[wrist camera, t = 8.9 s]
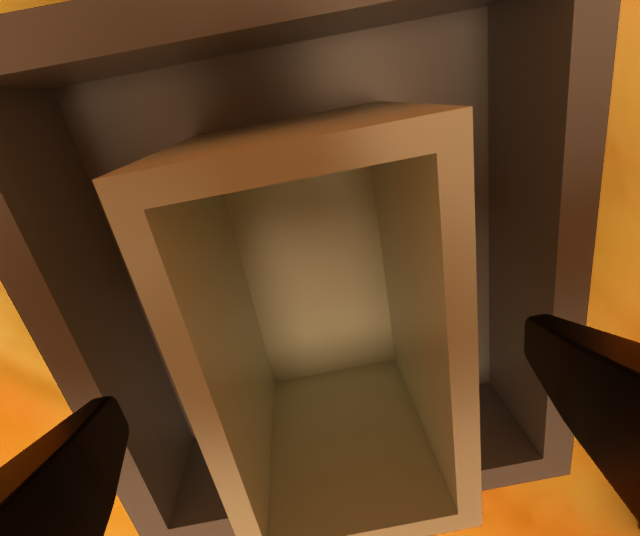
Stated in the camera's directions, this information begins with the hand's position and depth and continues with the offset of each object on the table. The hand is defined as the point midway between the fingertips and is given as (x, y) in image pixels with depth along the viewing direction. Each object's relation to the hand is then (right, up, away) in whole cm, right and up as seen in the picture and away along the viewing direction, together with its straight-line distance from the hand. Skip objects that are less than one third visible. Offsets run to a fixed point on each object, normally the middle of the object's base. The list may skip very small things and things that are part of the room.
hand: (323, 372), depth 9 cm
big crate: (0, +3, +7) cm, 7 cm away
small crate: (0, +2, +6) cm, 6 cm away
